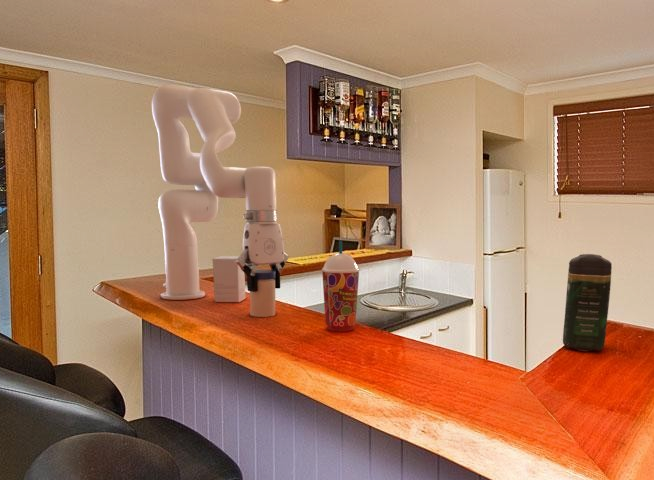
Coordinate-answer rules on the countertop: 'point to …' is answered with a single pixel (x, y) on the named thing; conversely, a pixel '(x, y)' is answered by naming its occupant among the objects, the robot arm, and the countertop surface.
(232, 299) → the white packaging box
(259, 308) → the jar
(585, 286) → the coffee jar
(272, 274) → the jar lid
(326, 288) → the smoothie
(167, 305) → the countertop surface
